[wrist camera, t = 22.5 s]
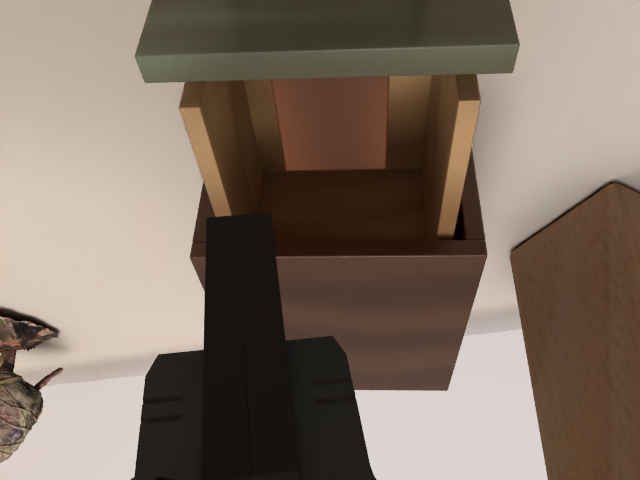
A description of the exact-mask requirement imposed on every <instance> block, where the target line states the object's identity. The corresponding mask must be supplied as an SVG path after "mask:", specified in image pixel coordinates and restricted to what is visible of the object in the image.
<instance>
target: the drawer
mask: <svg viewBox="0 0 640 480" xmlns="http://www.w3.org/2000/svg"><path fill="white" fill-rule="evenodd" d="M519 45H520V44H519V39H518V35H517V31H516V27H515V22H514V18H513V14H512V10H511V6H510V1H509V0H152V2H151V5H150V8H149V12H148V15H147V18H146V21H145V24H144V28H143V31H142V34H141V37H140V41H139V44H138V47H137V50H136V53H135V58H136V61H137V63H138V66H139V68H140V71H141V74H142V76H143V79H144V82H145V83H163V82H185V85H184V89H183V93H182V97H181V102H180V106H179V110H180V113H181V116H182V118H183V121H184V124H185V127H186V130H187V133H188V136H189V139H190V142H191V145H192V148H193V151H194V154H195V157H196V160H197V163H198V166H199V169H200V172H201V175H202V178H203V181H204V184H205V187H206V190H207V193H208V196H209V199H210V202H211V205H212V208H213V211H214V214H215V216H216V217H219V216H232V215H244V214H257V213H270V212H271V217H272V226H273V235H274V242H316V241H429V240H453V237H454V232H455V227H456V222H457V217H458V212H459V207H460V202H461V197H462V192H463V187H464V182H465V177H466V172H467V167H468V163H469V158H470V153H471V148H472V143H473V138H474V133H475V128H476V123H477V118H478V113H479V108H480V103H481V98H480V92H479V86H478V80H477V74H493V73H512V72H513V70H514V66H515V61H516V57H517V53H518V49H519ZM383 76H389V100H388V129H387V157H386V168H385V169H352V170H299V171H287V170H286V168H285V162H284V156H283V150H282V144H281V138H280V132H279V126H278V120H277V114H276V108H275V102H274V96H273V90H272V84H271V80H273V79H310V78H346V77H383Z"/></svg>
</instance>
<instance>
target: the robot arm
mask: <svg viewBox="0 0 640 480" xmlns="http://www.w3.org/2000/svg"><path fill="white" fill-rule="evenodd" d="M131 480H376V478H375V477H374V475H373V472H372V470H371V467H370V463H369V459H368V454H367V449H366V444H365V440H364V435H363V430H362V425H361V420H360V416H359V411H358V406H357V401H356V399H355V392H354V387H353V382H352V379H351V373H350V368H349V363H348V359H347V354H346V353H345V352H344V350H343V349H342V348H341V346H340V345H339V344H338V342H337V341H336V340H335V338H334V337H333V336H325V337H315V338H305V339H295V340H286V339H285V331H284V322H283V313H282V305H281V296H280V287H279V278H278V270H277V261H276V252H275V244H274V235H273V226H272V217H271V212H270V213H257V214H244V215H232V216H219V217H206V263H205V315H204V350H199V351H189V352H179V353H169V354H159V355H158V356H157V358H156V359H155V361H154V363H153V365H152V366H151V368H150V370H149V371H148V373H147V375H146V378H145V387H144V395H143V405H142V414H141V425H140V433H139V442H138V450H137V460H136V469H135V477H134V478H132V479H131Z"/></svg>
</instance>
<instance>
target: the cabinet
mask: <svg viewBox="0 0 640 480" xmlns="http://www.w3.org/2000/svg"><path fill="white" fill-rule="evenodd" d="M206 217H216V216H215V214H214V211H213V208H212V205H211V202H210V199H209V196H208V193H207V190H206V187H205V184H204V181H203V187H202V192H201V198H200V203H199V209H198V214H197V220H196V225H195V231H194V236H193V244H192V248H191V254H190V259H191V261H192V263H193V266H194V268H195V270H196V273H197V275H198V277H199V280H200V282H201V284H202V287H203V289H204V291H205V263H206ZM274 244H275V252H276V261H277V270H278V278H279V287H280V296H281V305H282V313H283V322H284V331H285V339H286V340H295V339H305V338H315V337H325V336H333V337H334V338H335V340H336V341H337V342H338V344H339V345H340V346H341V348H342V349H343V350H344V352H345V353H346V354H347V359H348V363H349V368H350V373H351V379H352V382H353V387H354V390H441V391H444V390H445V391H446V390H448V387H449V384H450V380H451V377H452V374H453V370H454V367H455V363H456V360H457V357H458V353H459V350H460V346H461V343H462V339H463V336H464V333H465V329H466V326H467V323H468V319H469V316H470V312H471V309H472V306H473V302H474V299H475V295H476V292H477V289H478V285H479V282H480V278H481V275H482V272H483V268H484V265H485V261H486V258H487V249H486V242H485V234H484V228H483V221H482V214H481V207H480V200H479V193H478V187H477V180H476V173H475V166H474V159H473V152H472V148H471V153H470V158H469V163H468V167H467V172H466V177H465V182H464V187H463V192H462V197H461V202H460V207H459V212H458V217H457V222H456V227H455V232H454V237H453V240H429V241H316V242H274Z"/></svg>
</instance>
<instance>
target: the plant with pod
mask: <svg viewBox="0 0 640 480" xmlns="http://www.w3.org/2000/svg"><path fill="white" fill-rule="evenodd" d="M58 336H59V335H58V334H56V332H54V331H53V332H52V331H49V329H48V328H44V327H42V326H39V325H36V324H35V323H31V322H27V321H14V320H13V319H11V318H5V317H1V316H0V353H2V354H1V356H0V462H3V461H4V460H6V459H8V458H9V457H10V456H11V455H12V453H13V452H14V451H16V450H17V449H18V447H19V446H20V444H21V443H22V442H23V440H24V438H25V437H26V435H27V433H28V432H29V431H30V430H31V429H32V426H33V425H34V424H35V423H37V419H38V418H39V416H40V414H41V413H42V408H43V398H42V397H41V392H40V391H39V390H40V389H41V388H42V387H43V386H45V385H46V384H47V383H48V382H49V381H50V379H51V378H53V377H55V376H57V375H58V374H60V373H61V372H62V371H63V368H58V369H56V370H55V371H53V372H52V373H51V374H49V375H47V376H46V377H44V378H43V379H42V380H41V381H40V382H38V383H37V384H36V385H35V386H32V385H31V384H29V383H27V382H25V381H24V380H23V378H22V376H19V375H17V374H15V373H13V369H14V363H15V356H16V350H20V349H21V350H22V349H24V350H25V348H26V349H27V351H29V349H32V347H33V348H35V346H36V345H39V343H42V342H44V341H47V340H49V339H50V338H51V339H52V338H54V337H55V338H56V337H58ZM35 349H36V348H35Z"/></svg>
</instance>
